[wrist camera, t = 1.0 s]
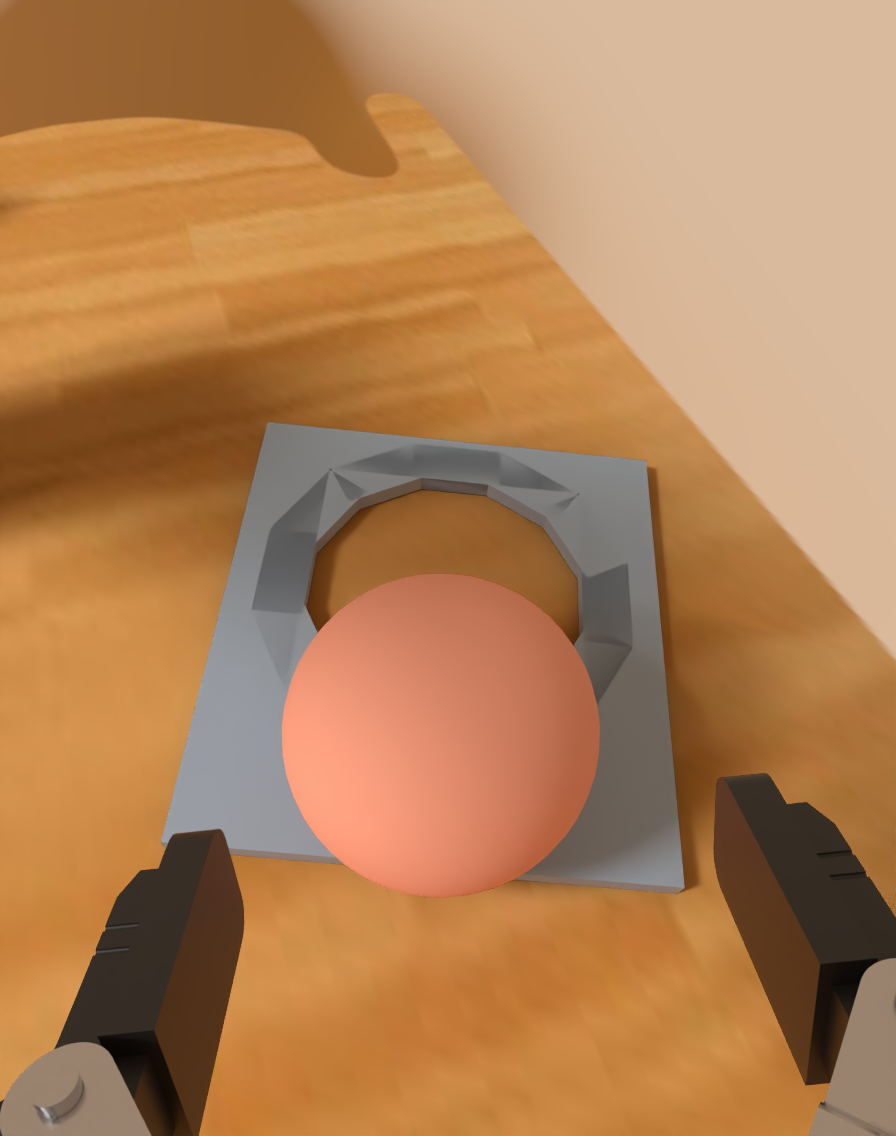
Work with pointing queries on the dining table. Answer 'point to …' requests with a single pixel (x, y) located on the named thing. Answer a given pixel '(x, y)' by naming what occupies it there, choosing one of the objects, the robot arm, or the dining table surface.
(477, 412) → the dining table surface
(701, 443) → the dining table surface
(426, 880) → the ball
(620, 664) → the hole board
